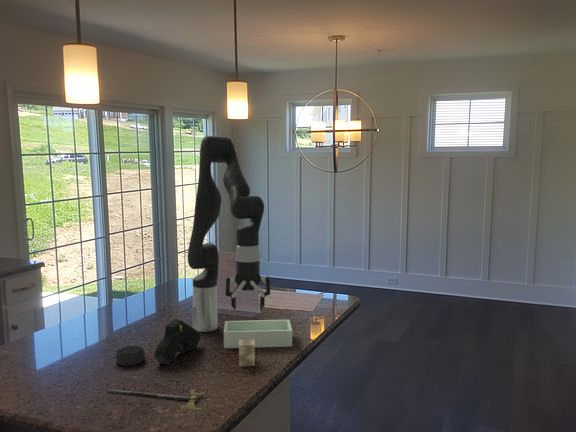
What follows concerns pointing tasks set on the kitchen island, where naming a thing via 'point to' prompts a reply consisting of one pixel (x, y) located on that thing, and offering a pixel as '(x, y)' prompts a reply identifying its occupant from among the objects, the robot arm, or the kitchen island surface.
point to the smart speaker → (130, 355)
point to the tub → (258, 333)
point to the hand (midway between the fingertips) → (248, 308)
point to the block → (247, 352)
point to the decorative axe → (165, 397)
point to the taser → (176, 341)
